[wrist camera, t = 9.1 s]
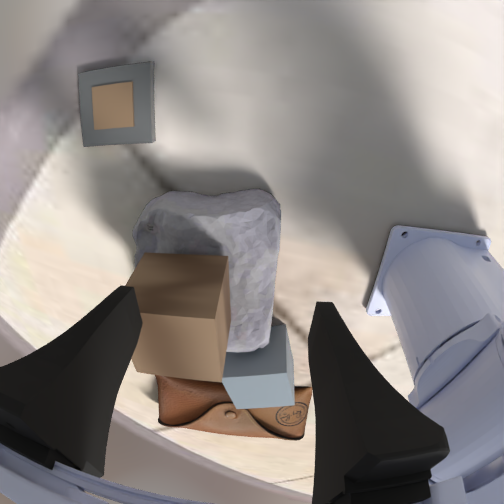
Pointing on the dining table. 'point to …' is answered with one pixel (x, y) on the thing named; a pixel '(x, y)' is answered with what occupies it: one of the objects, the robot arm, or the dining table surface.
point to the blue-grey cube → (262, 374)
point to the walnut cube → (182, 315)
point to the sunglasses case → (227, 410)
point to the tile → (117, 105)
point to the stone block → (223, 249)
